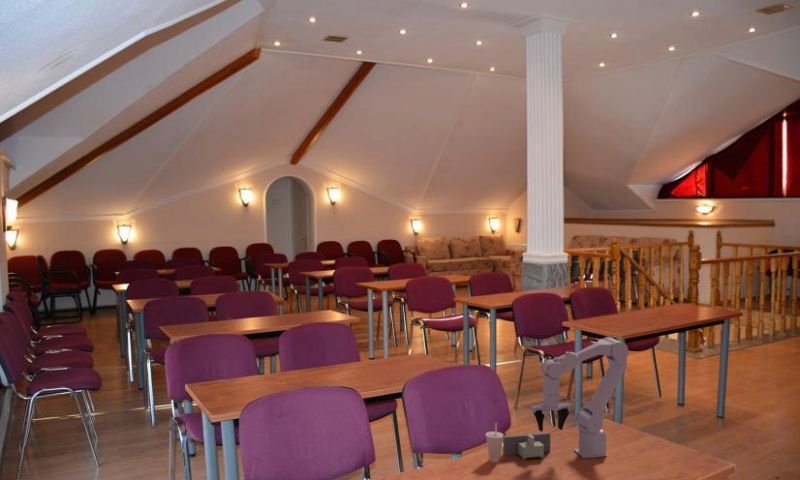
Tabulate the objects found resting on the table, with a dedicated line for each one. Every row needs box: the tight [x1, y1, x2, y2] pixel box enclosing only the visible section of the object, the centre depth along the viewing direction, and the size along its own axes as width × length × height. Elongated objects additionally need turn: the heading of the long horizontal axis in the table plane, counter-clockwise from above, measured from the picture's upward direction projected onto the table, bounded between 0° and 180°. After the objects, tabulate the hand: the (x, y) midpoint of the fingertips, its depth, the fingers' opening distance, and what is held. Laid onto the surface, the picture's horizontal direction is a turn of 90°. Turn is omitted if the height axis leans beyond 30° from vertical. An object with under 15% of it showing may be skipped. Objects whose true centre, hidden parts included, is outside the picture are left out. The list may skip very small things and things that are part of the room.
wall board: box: [502, 431, 551, 459], centre depth 253 cm, size 18×4×7 cm, turn 102°
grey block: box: [517, 433, 545, 462], centre depth 250 cm, size 8×5×8 cm, turn 102°
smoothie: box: [485, 422, 504, 464], centre depth 247 cm, size 6×6×14 cm
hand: (550, 429), depth 249 cm, fingers open, 7 cm apart
